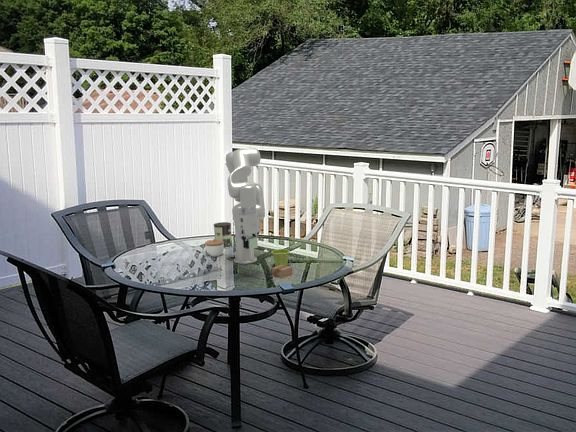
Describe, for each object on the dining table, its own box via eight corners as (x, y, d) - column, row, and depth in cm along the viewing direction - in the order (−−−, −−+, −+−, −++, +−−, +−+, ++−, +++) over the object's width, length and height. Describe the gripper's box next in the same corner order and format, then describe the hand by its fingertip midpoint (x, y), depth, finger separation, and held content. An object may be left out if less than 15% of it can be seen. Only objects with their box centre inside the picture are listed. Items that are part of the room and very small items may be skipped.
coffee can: (233, 244, 368) (231, 221, 365) (231, 248, 357) (230, 225, 355) (216, 245, 368) (214, 222, 365) (214, 249, 358) (212, 225, 355)
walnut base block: (272, 275, 295) (271, 267, 294) (282, 272, 300) (281, 264, 299) (282, 278, 290) (282, 270, 289) (292, 274, 295) (292, 266, 294)
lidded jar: (221, 251, 351) (220, 236, 349) (227, 255, 341) (226, 239, 339) (203, 254, 346) (202, 238, 344) (209, 258, 337) (208, 242, 335)
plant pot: (284, 271, 307) (283, 254, 305) (268, 268, 312) (268, 252, 310) (293, 266, 314) (293, 250, 313) (278, 264, 319) (277, 248, 318)
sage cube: (243, 247, 294) (242, 238, 293) (250, 245, 298) (250, 235, 297) (250, 249, 291) (249, 239, 290) (257, 247, 294) (257, 237, 293)
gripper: (240, 214, 282) (242, 252, 286) (266, 208, 294) (268, 244, 298) (230, 212, 287) (232, 249, 291) (255, 206, 299) (257, 242, 303)
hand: (250, 246), depth 294 cm, fingers closed on sage cube, 5 cm apart
